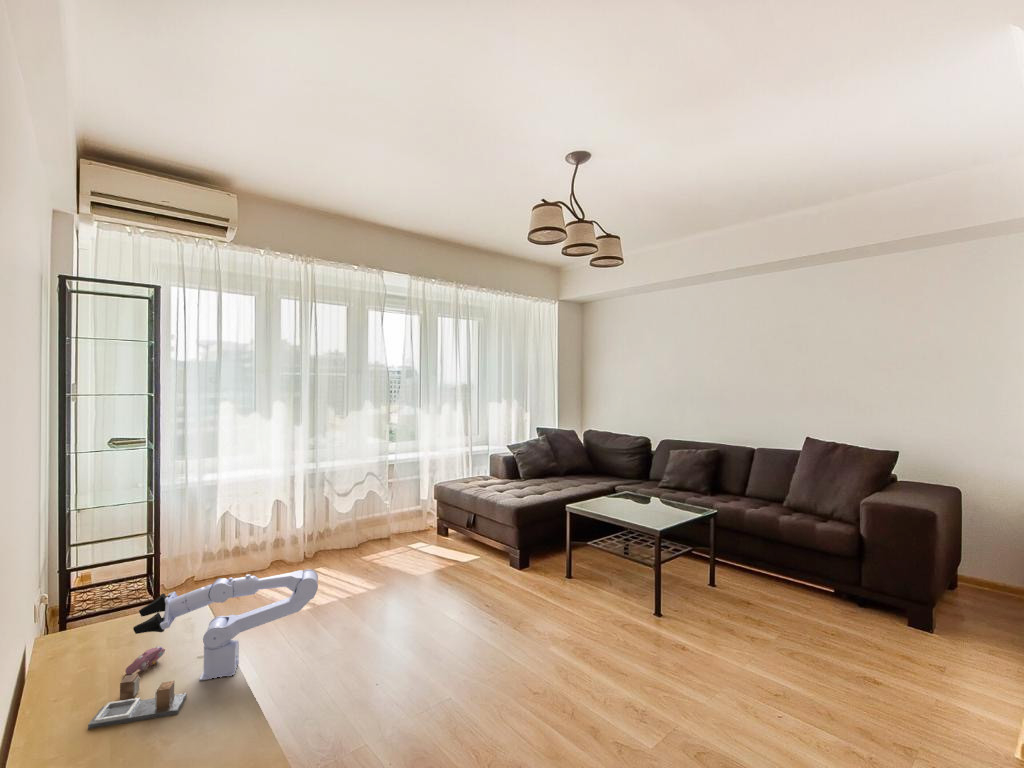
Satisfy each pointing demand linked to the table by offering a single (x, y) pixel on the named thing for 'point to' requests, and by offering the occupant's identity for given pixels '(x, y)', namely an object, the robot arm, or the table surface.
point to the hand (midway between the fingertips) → (137, 621)
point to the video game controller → (145, 660)
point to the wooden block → (129, 687)
